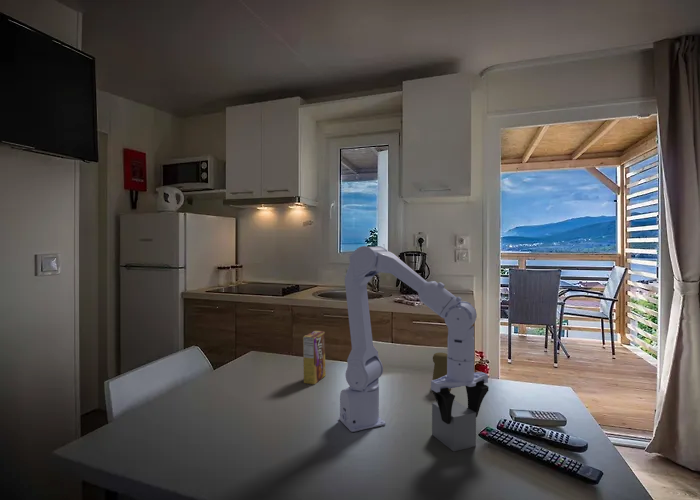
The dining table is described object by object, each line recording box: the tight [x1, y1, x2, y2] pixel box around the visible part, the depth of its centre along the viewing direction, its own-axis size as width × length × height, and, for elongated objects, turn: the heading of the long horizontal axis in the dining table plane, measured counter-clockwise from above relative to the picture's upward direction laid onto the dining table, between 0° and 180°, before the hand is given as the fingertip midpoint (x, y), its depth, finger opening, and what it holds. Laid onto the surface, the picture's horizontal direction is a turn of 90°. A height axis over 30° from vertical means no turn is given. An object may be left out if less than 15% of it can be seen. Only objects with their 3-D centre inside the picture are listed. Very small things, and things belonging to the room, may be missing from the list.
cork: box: [431, 352, 452, 392], centre depth 118 cm, size 6×6×11 cm
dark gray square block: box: [431, 399, 477, 452], centre depth 87 cm, size 6×8×7 cm
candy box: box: [302, 330, 327, 385], centre depth 126 cm, size 9×4×15 cm, turn 160°
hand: (459, 418), depth 84 cm, fingers open, 7 cm apart
